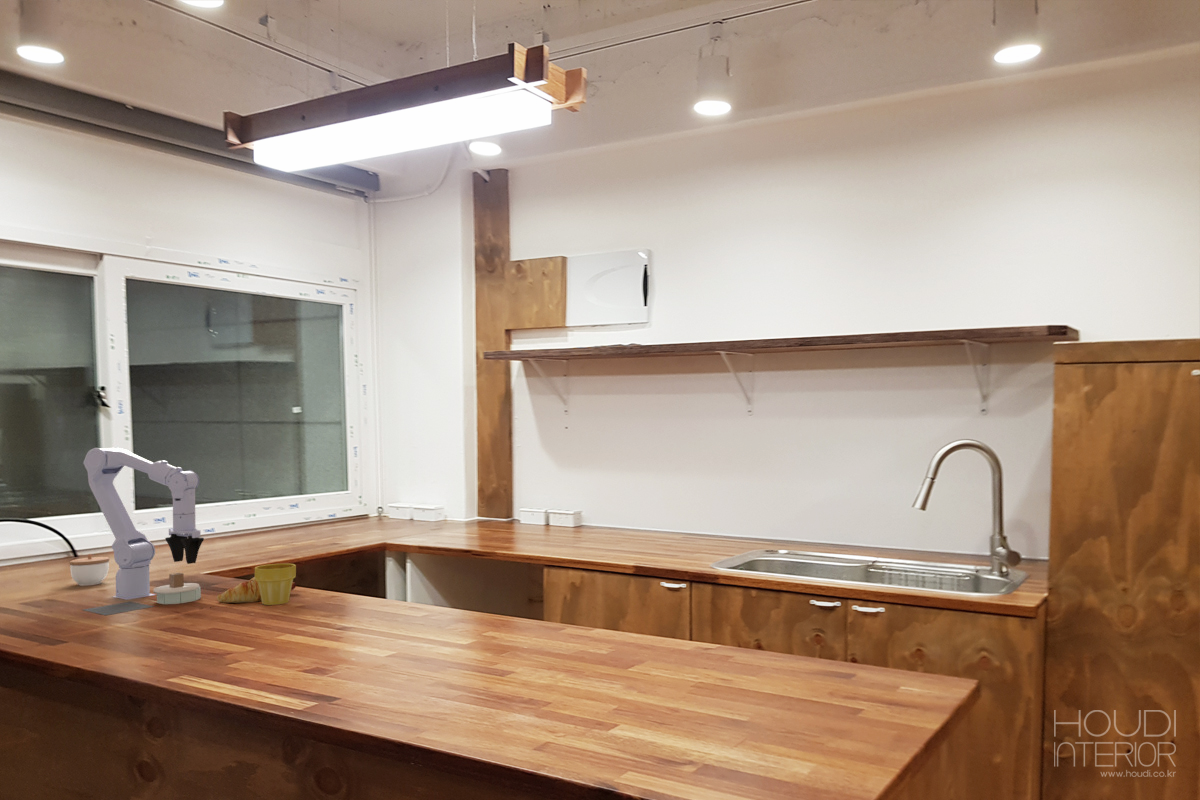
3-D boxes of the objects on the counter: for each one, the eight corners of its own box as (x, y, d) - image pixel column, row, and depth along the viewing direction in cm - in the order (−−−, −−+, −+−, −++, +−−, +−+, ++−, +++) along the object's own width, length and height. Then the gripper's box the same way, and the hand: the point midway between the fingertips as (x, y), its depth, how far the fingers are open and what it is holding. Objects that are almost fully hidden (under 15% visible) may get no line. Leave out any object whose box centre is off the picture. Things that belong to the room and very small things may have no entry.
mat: (82, 612, 223) (82, 609, 223) (130, 603, 232) (129, 601, 232) (105, 617, 214) (105, 615, 214) (154, 608, 224) (154, 606, 224)
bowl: (151, 603, 231) (151, 590, 231) (188, 597, 239) (187, 584, 239) (169, 607, 225) (169, 594, 225) (206, 600, 233) (206, 587, 233)
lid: (145, 591, 231) (145, 575, 231) (186, 584, 239) (186, 569, 240) (165, 595, 224) (165, 578, 224) (207, 588, 233) (206, 572, 233)
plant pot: (301, 598, 232) (301, 562, 232) (289, 605, 222) (288, 568, 222) (263, 599, 232) (262, 563, 232) (249, 607, 221) (248, 569, 222)
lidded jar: (117, 580, 273) (116, 551, 274) (94, 586, 263) (93, 556, 263) (86, 581, 274) (85, 552, 275) (61, 587, 264) (61, 557, 264)
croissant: (221, 619, 224) (225, 594, 222) (209, 597, 231) (213, 573, 228) (299, 604, 239) (304, 581, 236) (286, 584, 245) (290, 561, 243)
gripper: (157, 514, 241) (158, 562, 240) (182, 516, 232) (182, 566, 231) (182, 511, 246) (183, 558, 246) (207, 513, 238) (208, 562, 237)
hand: (184, 562), depth 239 cm, fingers open, 7 cm apart
